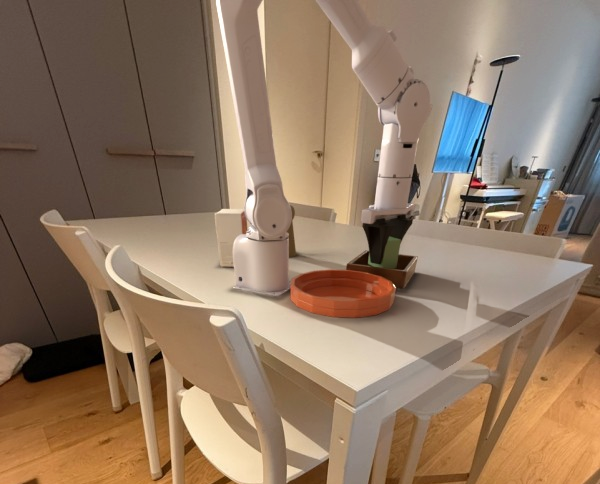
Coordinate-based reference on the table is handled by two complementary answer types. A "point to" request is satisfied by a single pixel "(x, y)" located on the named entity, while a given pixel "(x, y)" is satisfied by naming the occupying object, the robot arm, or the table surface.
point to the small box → (229, 232)
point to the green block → (389, 254)
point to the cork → (291, 236)
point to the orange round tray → (342, 293)
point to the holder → (396, 276)
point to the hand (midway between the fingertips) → (382, 261)
